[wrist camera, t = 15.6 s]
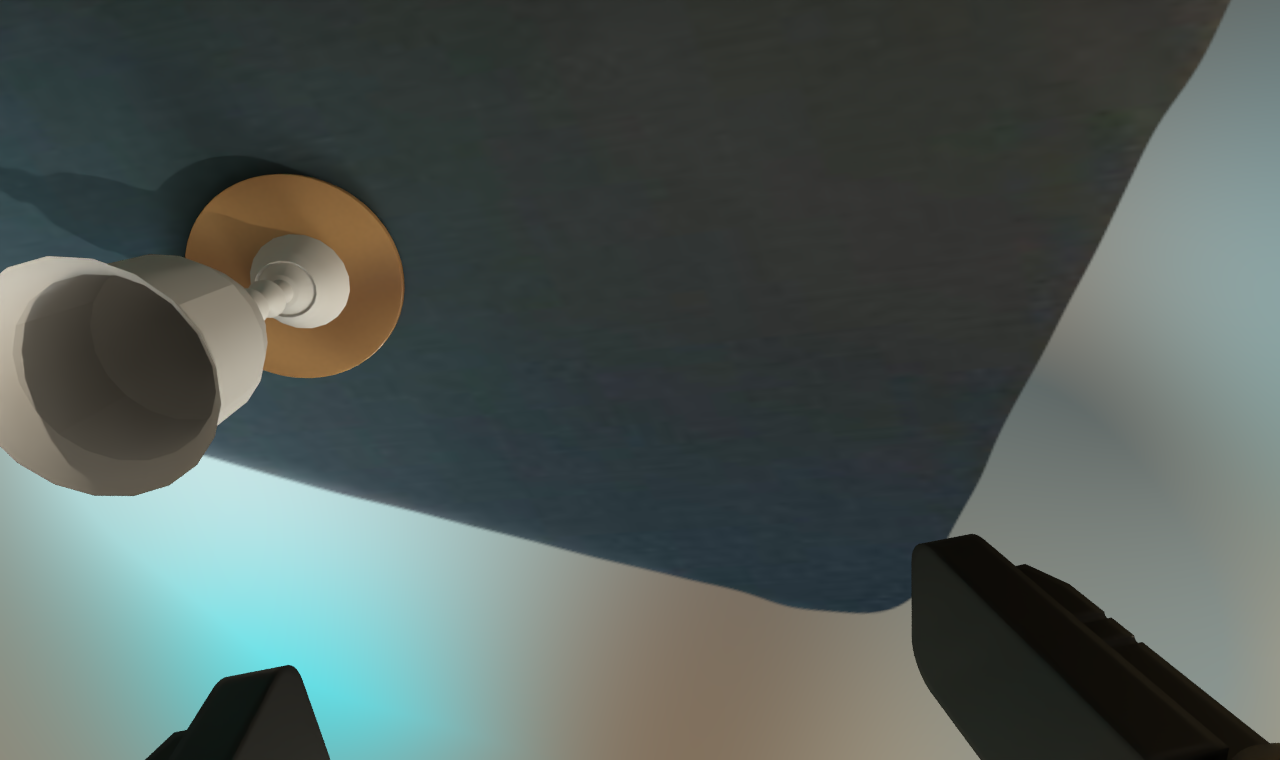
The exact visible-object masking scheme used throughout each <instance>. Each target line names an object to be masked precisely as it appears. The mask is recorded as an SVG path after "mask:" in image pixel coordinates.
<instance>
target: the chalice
mask: <svg viewBox="0 0 1280 760" xmlns="http://www.w3.org/2000/svg"><path fill="white" fill-rule="evenodd" d="M250 279H251V280H250V282H251V285H250V286H249V288H244V287H243V286H241V285H240V284H238V283H237V282H236V281H234V280H233V279H232V278H230V277H229V276H227V275H226V274H224V273H222V272H220V271H218V270H215V269H213V268H211V267H208V266H206V265H203V264H200V263H197V262H195V261H192V260H189V259H187V258H184V257H181V256H173V255H155V254H149V255H144V256H140V257H135V258H131V259H127V260H122V261H118V262H113V263H109V264H105V263H102V262H100V261H97V260H94V259H87V258H69V257H51V256H47V257H43V258H40V259H36V260H33V261H29V262H26V263H22V264H19V265H15V266H12V267H8V268H6V269H5V270H4V271H3V272H1V273H0V447H1V448H3V449H4V450H5V451H6V452H7V453H8V454H9V455H10V456H11V457H12V458H13V459H14V460H15V461H16V462H17V463H19V464H20V465H22V466H24V467H25V468H27V469H29V470H31V471H32V472H34V473H36V474H38V475H39V476H41V477H43V478H44V479H46V480H48V481H50V482H51V483H53V484H55V485H59V486H62V487H66V488H70V489H73V490H77V491H80V492H84V493H87V494H91V495H94V496H135V495H139V494H142V493H145V492H148V491H152V490H155V489H158V488H162V487H165V486H168V485H170V484H171V483H173V482H174V481H176V480H177V479H178V478H180V477H181V476H183V475H184V474H185V473H186V472H188V471H189V470H191V469H192V468H193V467H195V466H196V465H197V464H198V462H199V461H200V459H201V458H202V456H203V455H204V453H205V451H206V450H207V448H208V447H209V445H210V443H211V442H212V440H213V439H214V437H215V433H216V428H217V425H219V424H220V423H221V422H222V421H224V420H225V419H226V418H227V417H229V416H230V415H231V414H232V413H234V412H235V411H236V410H237V409H238V408H240V407H241V406H242V405H243V404H245V403H246V402H247V401H248V400H249V398H250V396H251V395H252V393H253V392H254V390H255V389H256V387H257V386H258V384H259V382H260V380H261V375H262V371H263V366H264V361H265V356H266V350H267V343H268V342H267V333H266V324H265V319H266V318H274V319H276V320H278V321H280V322H281V323H283V324H287V325H290V326H293V327H296V328H315V327H318V326H322V325H326V324H327V323H329V322H330V321H332V320H333V319H335V318H336V317H338V316H339V314H340V313H341V311H342V310H343V309H344V307H345V306H346V303H347V300H348V296H349V293H350V286H349V276H348V273H347V271H346V268H345V266H344V263H343V262H342V260H341V259H340V258H339V257H338V255H337V254H336V253H335V252H334V250H333V249H331V248H330V247H328V246H327V245H326V244H324V243H323V242H321V241H320V240H317V239H314V238H311V237H309V236H306V235H293V234H288V235H284V236H280V237H277V238H273V239H272V240H271V241H269V242H268V243H266V244H265V245H263V246H262V247H261V248H260V250H259V251H258V253H257V254H256V256H255V257H254V259H253V262H252V267H251V271H250Z"/></svg>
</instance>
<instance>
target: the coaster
mask: <svg viewBox="0 0 1280 760" xmlns="http://www.w3.org/2000/svg"><path fill="white" fill-rule="evenodd" d="M288 234H293V235H306V236H309V237H311V238H314V239H317V240H320V241H321V242H323V243H324V244H326V245H327V246H328V247H330V248H331V249H333V250H334V252H335V253H336V254H337V255H338V257H339V258H340V259H341V260H342V262H343V263H344V266H345V268H346V271H347V273H348V276H349V286H350V293H349V296H348V300H347V303H346V306H345V307H344V309H343V310H342V311H341V313H340V314H339V316H338V317H336V318H335V319H333V320H332V321H330V322H329V323H327V324H326V325H322V326H318V327H315V328H296V327H293V326H290V325H287V324H283V323H281V322H280V321H278V320H276V319H274V318H266V319H265V324H266V333H267V342H268V343H267V350H266V356H265V361H264V366H263V370H266V371H268V372H271V373H275V374H279V375H283V376H289V377H296V378H316V377H325V376H330V375H334V374H338V373H341V372H344V371H346V370H349V369H351V368H353V367H355V366H357V365H359V364H361V363H362V362H364V361H365V360H366V359H368V358H369V357H371V356H372V355H373V354H374V353H375V352H376V351H377V350H378V349H379V348H380V347H381V346H382V345H383V344H384V342H385V341H386V340H387V339H388V337H389V336H390V334H391V333H392V331H393V329H394V327H395V326H396V323H397V321H398V318H399V316H400V313H401V309H402V305H403V299H404V274H403V268H402V263H401V260H400V257H399V253H398V250H397V248H396V246H395V244H394V242H393V239H392V238H391V236H390V234H389V233H388V231H387V229H386V228H385V226H384V225H383V224H382V222H381V221H380V220H379V219H378V217H377V216H376V215H375V214H374V213H373V212H372V211H371V210H370V209H369V208H368V207H367V206H366V205H365V204H364V203H362V202H361V201H360V200H358V199H357V198H356V197H355V196H353V195H352V194H350V193H348V192H347V191H345V190H343V189H342V188H340V187H338V186H335V185H333V184H331V183H329V182H326V181H323V180H320V179H317V178H314V177H309V176H304V175H298V174H268V175H262V176H257V177H252V178H249V179H246V180H243V181H241V182H238V183H236V184H234V185H232V186H230V187H228V188H226V189H225V190H224V191H222V192H221V193H220V194H218V195H217V196H215V197H214V198H213V199H212V200H211V201H210V202H209V203H208V204H207V205H206V206H205V208H204V209H203V210H202V212H201V213H200V215H199V216H198V217H197V219H196V221H195V223H194V225H193V227H192V229H191V232H190V235H189V238H188V241H187V247H186V253H185V258H187V259H189V260H192V261H195V262H197V263H200V264H203V265H206V266H208V267H211V268H213V269H215V270H218V271H220V272H222V273H224V274H226V275H227V276H229V277H230V278H232V279H233V280H234V281H236V282H237V283H238V284H240V285H241V286H243V287H244V288H249V286H250V285H251V282H250V280H251V279H250V271H251V267H252V262H253V259H254V257H255V256H256V254H257V253H258V251H259V250H260V248H261V247H262V246H263V245H265V244H266V243H268V242H269V241H271V240H272V239H273V238H277V237H280V236H284V235H288Z"/></svg>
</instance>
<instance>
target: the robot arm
mask: <svg viewBox="0 0 1280 760" xmlns="http://www.w3.org/2000/svg"><path fill="white" fill-rule="evenodd" d="M912 645H913V651H914V656H915V659H916V663H917V665H918V668H919V671H920V673H921V675H922V678H923V680H924V682H925V684H926V685H927V687H928V689H929V690H930V692H931V693H932V694H933V696H934V697H935V698H936V700H937V701H938V703H939V704H940V705H941V707H942V708H943V709H944V710H945V712H946V713H947V715H948V716H949V717H950V719H951V720H952V721H953V723H954V724H955V726H956V727H957V728H958V730H959V731H960V732H961V734H962V735H963V736H964V737H965V739H966V740H967V742H968V743H969V745H970V746H971V747H972V748H973V750H974V751H975V753H976V754H977V755H978V757H979V758H980V759H981V760H1280V743H1269V742H1267V741H1266V740H1265V739H1264V738H1262V737H1261V736H1260V735H1258V734H1257V733H1256V732H1255V731H1253V730H1252V729H1251V728H1250V727H1248V726H1247V725H1246V724H1245V723H1243V722H1242V721H1241V720H1240V719H1238V718H1237V717H1236V716H1234V715H1233V714H1232V713H1231V712H1230V711H1228V710H1227V709H1226V708H1224V707H1223V706H1222V705H1221V704H1219V703H1218V702H1217V701H1216V700H1214V699H1213V698H1212V697H1211V696H1209V695H1208V694H1207V693H1206V692H1204V691H1203V690H1202V689H1201V688H1199V687H1198V686H1197V685H1196V684H1194V683H1193V682H1192V681H1190V680H1189V679H1188V678H1187V677H1186V676H1184V675H1183V674H1182V673H1180V672H1179V671H1178V670H1177V669H1175V668H1174V667H1173V666H1171V665H1170V664H1169V663H1168V662H1167V661H1165V660H1164V659H1163V658H1162V657H1160V656H1159V655H1158V654H1157V653H1155V652H1154V651H1153V650H1152V649H1150V648H1149V647H1148V646H1147V645H1145V644H1144V643H1143V642H1141V643H1137V642H1136V640H1135V638H1134V635H1133V634H1131V633H1130V632H1129V631H1128V630H1126V629H1125V628H1124V627H1123V626H1121V625H1120V624H1119V623H1118V622H1116V621H1115V620H1114V619H1112V618H1106V616H1105V614H1104V611H1103V610H1101V609H1100V608H1099V607H1097V606H1096V605H1095V604H1094V603H1092V602H1091V601H1090V600H1089V599H1087V598H1086V597H1085V596H1084V595H1082V594H1081V593H1080V592H1079V591H1077V590H1076V589H1075V588H1074V587H1072V586H1071V585H1070V584H1068V583H1066V582H1064V581H1061V580H1059V579H1057V578H1055V577H1052V576H1050V575H1048V574H1046V573H1044V572H1042V571H1040V570H1037V569H1035V568H1033V567H1031V566H1028V565H1026V564H1023V565H1019V566H1015V565H1013V564H1012V563H1011V562H1010V561H1009V560H1008V559H1006V558H1005V557H1004V556H1003V555H1002V554H1001V553H999V552H998V551H997V550H996V549H995V548H993V547H992V546H991V545H990V544H989V543H987V542H986V541H985V540H984V539H982V538H981V537H979V536H978V535H975V534H969V535H964V536H958V537H954V538H948V539H943V540H938V541H932V542H927V543H922V544H918V545H917V546H916V547H915V548H914V550H913V553H912ZM145 760H330V758H329V755H328V752H327V749H326V746H325V743H324V740H323V737H322V734H321V732H320V729H319V726H318V723H317V720H316V717H315V715H314V712H313V709H312V706H311V703H310V701H309V698H308V695H307V692H306V689H305V686H304V683H303V680H302V678H301V676H300V674H299V672H298V671H297V669H296V668H295V667H293V666H290V665H286V666H281V667H276V668H271V669H265V670H261V671H255V672H250V673H245V674H240V675H235V676H230V677H225V678H223V679H221V680H220V681H219V682H218V683H217V684H216V685H215V686H214V688H213V689H212V691H211V693H210V694H209V696H208V697H207V699H206V701H205V702H204V704H203V705H202V707H201V708H200V710H199V712H198V713H197V715H196V716H195V718H194V720H193V721H192V723H191V724H190V726H189V727H188V729H187V730H185V731H179V732H175V733H173V734H172V735H171V736H170V737H169V738H168V739H167V740H166V741H165V742H164V743H163V744H161V745H160V746H159V747H158V748H157V749H156V750H155V751H154V752H153V753H152V754H151V755H150V756H149V757H148V758H146V759H145Z"/></svg>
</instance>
